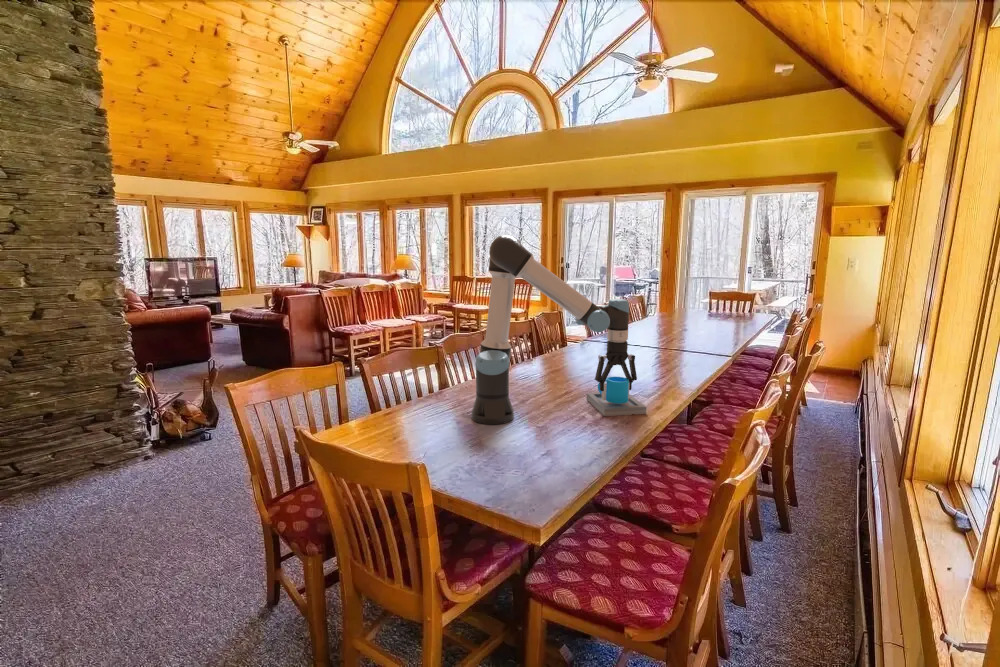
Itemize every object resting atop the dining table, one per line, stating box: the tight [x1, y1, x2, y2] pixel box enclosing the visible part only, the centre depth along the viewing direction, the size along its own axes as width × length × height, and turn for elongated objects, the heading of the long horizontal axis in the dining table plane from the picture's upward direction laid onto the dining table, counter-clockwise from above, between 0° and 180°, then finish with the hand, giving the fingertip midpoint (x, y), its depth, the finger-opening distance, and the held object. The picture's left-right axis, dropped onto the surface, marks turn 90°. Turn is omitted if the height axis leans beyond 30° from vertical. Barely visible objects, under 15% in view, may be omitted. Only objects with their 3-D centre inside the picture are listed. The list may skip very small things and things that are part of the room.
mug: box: [597, 376, 630, 404], centre depth 188 cm, size 12×8×8 cm
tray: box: [586, 391, 647, 417], centre depth 189 cm, size 16×20×3 cm
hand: (615, 398), depth 189 cm, fingers closed on mug, 8 cm apart
